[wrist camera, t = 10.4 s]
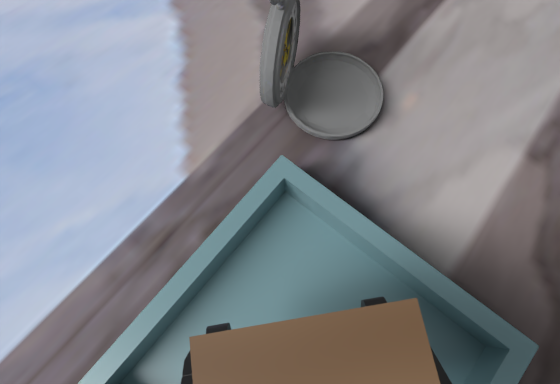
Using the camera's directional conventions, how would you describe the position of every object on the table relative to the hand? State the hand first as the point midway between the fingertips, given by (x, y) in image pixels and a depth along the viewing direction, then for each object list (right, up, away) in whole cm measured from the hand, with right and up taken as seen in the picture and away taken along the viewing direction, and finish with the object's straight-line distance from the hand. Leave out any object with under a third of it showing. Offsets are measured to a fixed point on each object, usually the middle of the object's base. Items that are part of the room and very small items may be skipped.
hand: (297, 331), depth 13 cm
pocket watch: (+2, +11, +14) cm, 18 cm away
